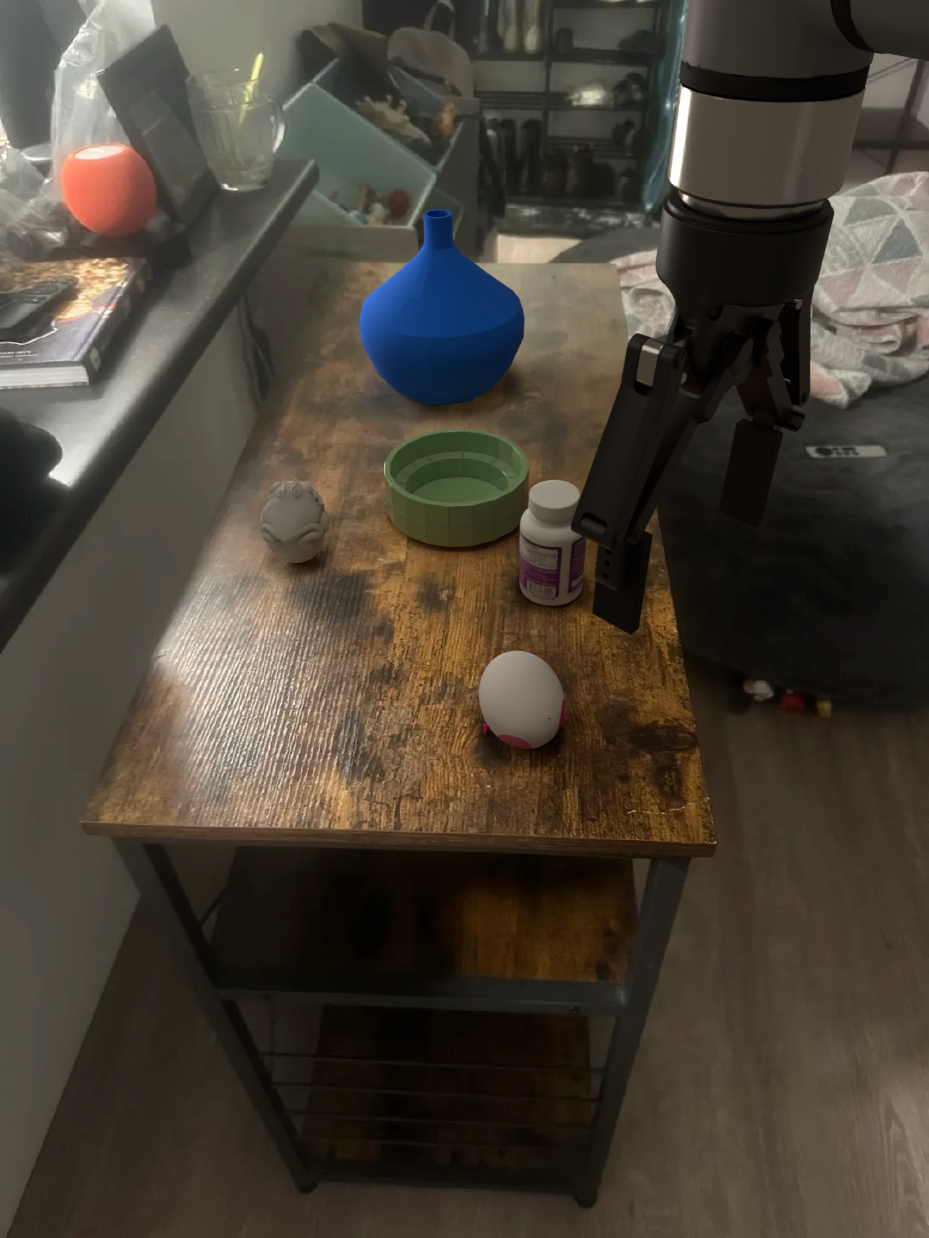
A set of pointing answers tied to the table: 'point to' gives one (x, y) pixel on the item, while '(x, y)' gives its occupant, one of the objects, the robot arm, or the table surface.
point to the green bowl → (456, 487)
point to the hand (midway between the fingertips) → (681, 566)
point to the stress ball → (521, 699)
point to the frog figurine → (294, 521)
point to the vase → (441, 323)
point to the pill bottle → (551, 545)
